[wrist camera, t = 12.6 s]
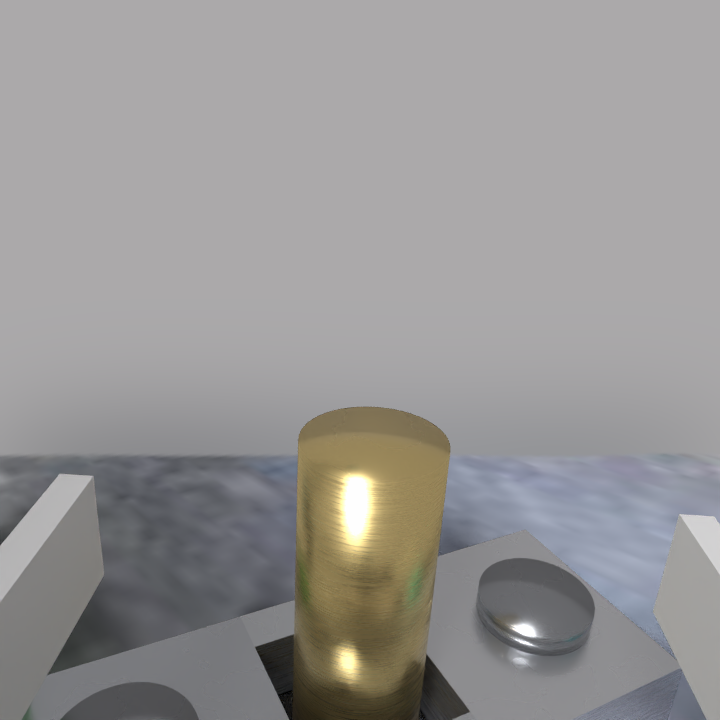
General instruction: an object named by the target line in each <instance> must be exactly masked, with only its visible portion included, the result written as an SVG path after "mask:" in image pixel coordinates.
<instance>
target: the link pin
mask: <svg viewBox="0 0 720 720" xmlns="http://www.w3.org/2000/svg"><path fill="white" fill-rule="evenodd" d="M449 457H450V443H449V440H448V438H447V437H446V435H445V434H444V433H443V432H442V431H441V430H440V429H439V428H438V427H437V426H435V425H434V424H432V423H431V422H429V421H427V420H425V419H423V418H421V417H419V416H416V415H413V414H411V413H407V412H404V411H399V410H395V409H389V408H381V407H351V408H344V409H338V410H334V411H330V412H327V413H324V414H322V415H319V416H317V417H315V418H314V419H312V420H311V421H309V422H308V423H307V424H306V425H305V426H304V427H303V428H302V430H301V432H300V434H299V439H298V478H297V524H296V570H295V616H294V661H293V707H292V720H419V712H420V703H421V695H422V686H423V678H424V669H425V661H426V653H427V644H428V636H429V627H430V619H431V610H432V602H433V593H434V585H435V576H436V568H437V559H438V551H439V542H440V534H441V525H442V517H443V508H444V500H445V491H446V483H447V474H448V466H449Z"/></svg>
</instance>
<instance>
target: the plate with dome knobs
mask: <svg viewBox="0 0 720 720" xmlns="http://www.w3.org/2000/svg"><path fill="white" fill-rule="evenodd" d="M294 616H295V600H292V601H289V602H286V603H283V604H279V605H276V606H273V607H269V608H266V609H263V610H260V611H256V612H253V613H250V614H246V615H243V616H240V617H237V618H233V619H230V620H227V621H223V622H220V623H217V624H214V625H210V626H207V627H204V628H200V629H197V630H194V631H191V632H187V633H184V634H181V635H177V636H174V637H171V638H168V639H164V640H161V641H158V642H154V643H151V644H148V645H145V646H141V647H138V648H135V649H131V650H128V651H125V652H122V653H118V654H115V655H112V656H108V657H105V658H102V659H98V660H95V661H92V662H89V663H85V664H82V665H79V666H75V667H72V668H69V669H66V670H62V671H59V672H56V673H52V674H49V675H47V676H46V678H45V680H44V681H43V683H42V685H41V687H40V688H39V690H38V692H37V694H36V695H35V697H34V699H33V701H32V702H31V704H30V706H29V708H28V709H27V711H26V713H25V715H24V716H23V718H22V720H289V718H288V716H287V714H286V712H285V710H284V708H283V705H282V703H281V701H280V699H279V697H278V695H279V694H282V693H285V692H287V691H290V690H293V661H294ZM681 674H682V669H681V667H680V665H679V663H678V661H677V660H676V659H675V658H674V657H673V656H671V655H670V654H669V653H668V652H667V651H666V650H664V649H663V648H662V647H661V646H660V645H659V644H658V643H656V642H655V641H654V640H653V639H652V638H651V637H649V636H648V635H647V634H646V633H645V632H644V631H642V630H641V629H640V628H639V627H638V626H637V625H635V624H634V623H633V622H632V621H631V620H630V619H629V618H627V617H626V616H625V615H624V614H623V613H622V612H620V611H619V610H618V609H617V608H616V607H615V606H613V605H612V604H611V603H610V602H609V601H608V600H606V599H605V598H604V597H603V596H602V595H601V594H600V593H598V592H597V591H596V590H595V589H594V588H593V587H591V586H590V585H589V584H588V583H587V582H586V581H584V580H583V579H582V578H581V577H580V576H579V575H577V574H576V573H575V572H574V571H573V570H572V569H571V568H569V567H568V566H567V565H566V564H565V563H564V562H562V561H561V560H560V559H559V558H558V557H557V556H555V555H554V554H553V553H552V552H551V551H550V550H549V549H547V548H546V547H545V546H544V545H543V544H542V543H540V542H539V541H538V540H537V539H536V538H535V537H533V536H532V535H531V534H530V533H529V532H528V531H526V530H522V531H519V532H516V533H513V534H509V535H506V536H503V537H499V538H496V539H493V540H490V541H486V542H483V543H480V544H476V545H473V546H470V547H467V548H463V549H460V550H457V551H453V552H450V553H447V554H444V555H440V556H438V559H437V568H436V576H435V585H434V593H433V602H432V610H431V619H430V627H429V636H428V644H427V653H426V661H425V669H424V678H423V686H422V695H421V703H420V710H421V712H422V713H423V715H424V716H425V718H426V719H427V720H668V716H669V713H670V710H671V707H672V703H673V700H674V697H675V693H676V690H677V687H678V684H679V680H680V677H681Z"/></svg>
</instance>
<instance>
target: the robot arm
mask: <svg viewBox="0 0 720 720" xmlns="http://www.w3.org/2000/svg"><path fill="white" fill-rule="evenodd" d="M103 576H104V567H103V558H102V549H101V540H100V531H99V521H98V512H97V503H96V494H95V485H94V476H85V475H70V474H59V475H58V477H57V478H56V479H55V480H54V481H53V483H52V484H51V485H50V486H49V487H48V489H47V490H46V491H45V492H44V493H43V495H42V496H41V497H40V498H39V500H38V501H37V502H36V503H35V504H34V506H33V507H32V508H31V509H30V510H29V512H28V513H27V514H26V515H25V516H24V518H23V519H22V520H21V521H20V522H19V524H18V525H17V526H16V527H15V528H14V530H13V531H12V532H11V533H10V535H9V536H8V537H7V538H6V539H5V541H4V542H3V543H2V544H1V545H0V720H22V718H23V716H24V715H25V713H26V711H27V709H28V708H29V706H30V704H31V702H32V701H33V699H34V697H35V695H36V694H37V692H38V690H39V688H40V687H41V685H42V683H43V681H44V680H45V678H46V676H47V674H48V673H49V671H50V669H51V667H52V666H53V664H54V662H55V660H56V659H57V657H58V655H59V653H60V652H61V650H62V648H63V646H64V645H65V643H66V641H67V639H68V638H69V636H70V634H71V632H72V631H73V629H74V627H75V625H76V624H77V622H78V620H79V618H80V617H81V615H82V613H83V611H84V610H85V608H86V606H87V604H88V602H89V601H90V599H91V597H92V595H93V594H94V592H95V590H96V588H97V587H98V585H99V583H100V581H101V580H102V578H103ZM653 613H654V615H655V617H656V619H657V621H658V623H659V625H660V627H661V629H662V631H663V633H664V635H665V637H666V639H667V641H668V643H669V645H670V647H671V649H672V651H673V653H674V655H675V657H676V659H677V661H678V663H679V665H680V667H681V669H682V671H683V673H684V675H685V677H686V679H687V681H688V683H689V685H690V687H691V689H692V691H693V693H694V695H695V697H696V699H697V701H698V703H699V705H700V707H701V709H702V711H703V713H704V715H705V718H706V720H720V524H719V523H718V521H717V520H716V519H715V517H713V516H697V515H682V514H679V517H678V521H677V525H676V529H675V532H674V536H673V540H672V543H671V547H670V551H669V554H668V558H667V562H666V565H665V569H664V573H663V576H662V580H661V584H660V588H659V591H658V595H657V599H656V602H655V606H654V610H653Z"/></svg>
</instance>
